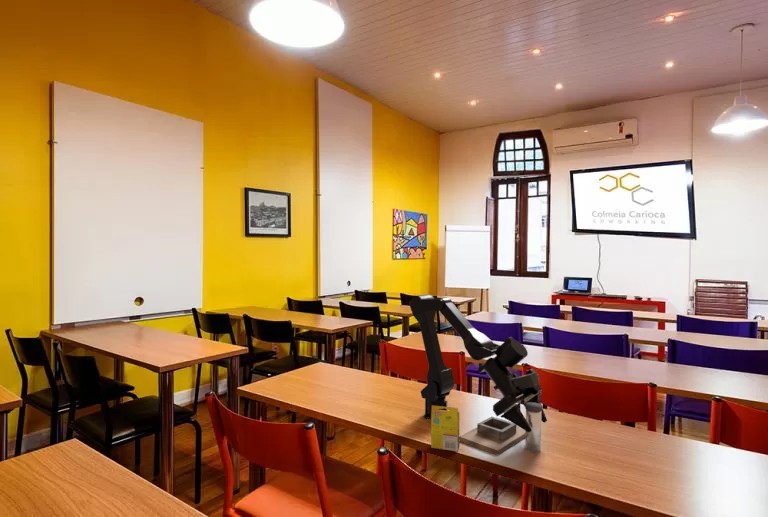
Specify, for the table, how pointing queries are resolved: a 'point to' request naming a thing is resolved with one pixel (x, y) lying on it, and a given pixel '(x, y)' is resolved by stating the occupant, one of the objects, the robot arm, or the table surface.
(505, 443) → the docking board
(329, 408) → the table surface
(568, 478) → the table surface
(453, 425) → the crayon box
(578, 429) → the table surface
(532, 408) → the capped glass jar
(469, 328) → the robot arm
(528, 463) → the table surface
